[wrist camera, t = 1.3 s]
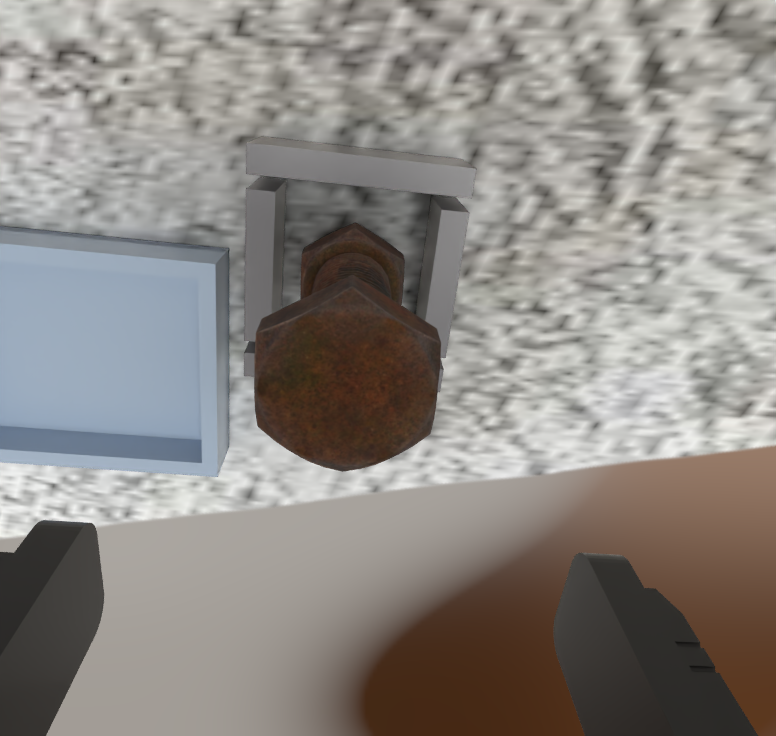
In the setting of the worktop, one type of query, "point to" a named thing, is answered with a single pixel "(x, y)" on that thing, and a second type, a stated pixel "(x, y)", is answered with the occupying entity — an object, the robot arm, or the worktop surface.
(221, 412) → the parts tray
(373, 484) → the worktop surface
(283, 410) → the bolt
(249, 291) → the holder
